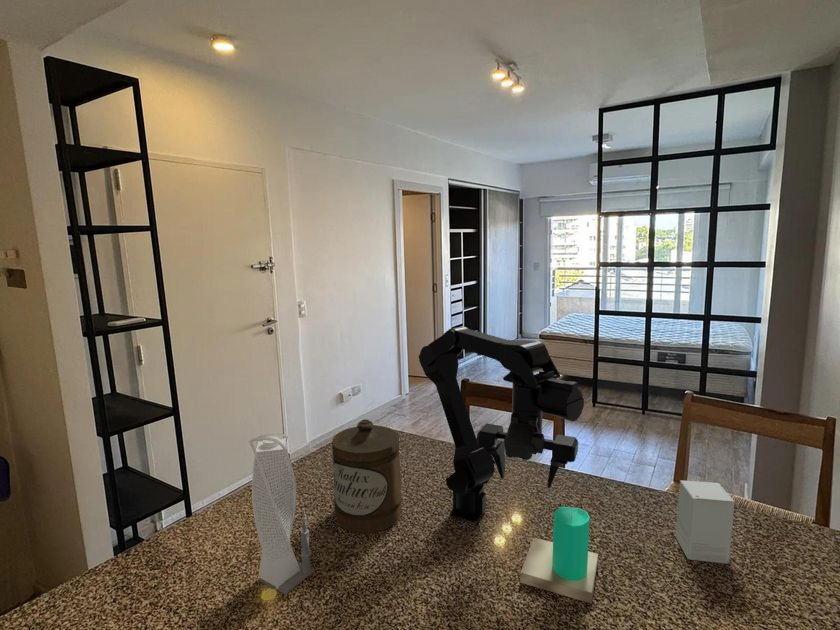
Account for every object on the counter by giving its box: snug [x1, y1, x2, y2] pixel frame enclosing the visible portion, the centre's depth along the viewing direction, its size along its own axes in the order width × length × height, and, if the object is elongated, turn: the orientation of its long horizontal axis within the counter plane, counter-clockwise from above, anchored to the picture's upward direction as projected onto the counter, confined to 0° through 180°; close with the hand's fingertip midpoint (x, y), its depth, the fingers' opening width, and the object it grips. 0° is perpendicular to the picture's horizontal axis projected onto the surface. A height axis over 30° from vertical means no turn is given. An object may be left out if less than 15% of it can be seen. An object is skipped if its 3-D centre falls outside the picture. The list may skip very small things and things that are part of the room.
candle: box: [552, 505, 591, 581], centre depth 84 cm, size 6×6×12 cm
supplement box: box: [675, 480, 736, 565], centre depth 92 cm, size 7×7×13 cm
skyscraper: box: [248, 433, 315, 595], centre depth 85 cm, size 8×8×28 cm
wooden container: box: [331, 418, 403, 534], centre depth 105 cm, size 15×15×22 cm
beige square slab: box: [519, 537, 599, 604], centre depth 87 cm, size 12×11×2 cm
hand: (525, 482), depth 94 cm, fingers open, 9 cm apart
